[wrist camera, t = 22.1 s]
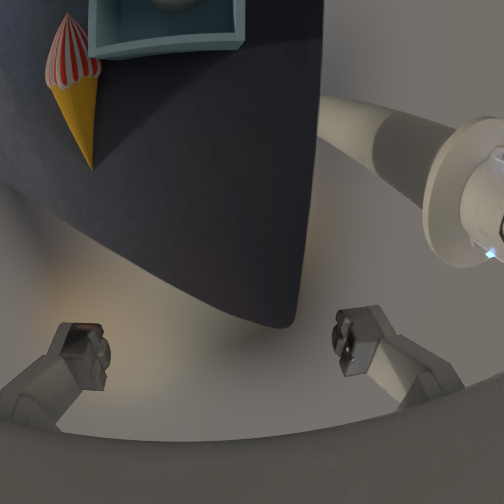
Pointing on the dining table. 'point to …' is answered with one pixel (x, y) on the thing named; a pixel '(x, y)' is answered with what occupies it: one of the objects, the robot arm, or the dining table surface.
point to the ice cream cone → (74, 81)
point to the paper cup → (174, 5)
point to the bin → (162, 28)
